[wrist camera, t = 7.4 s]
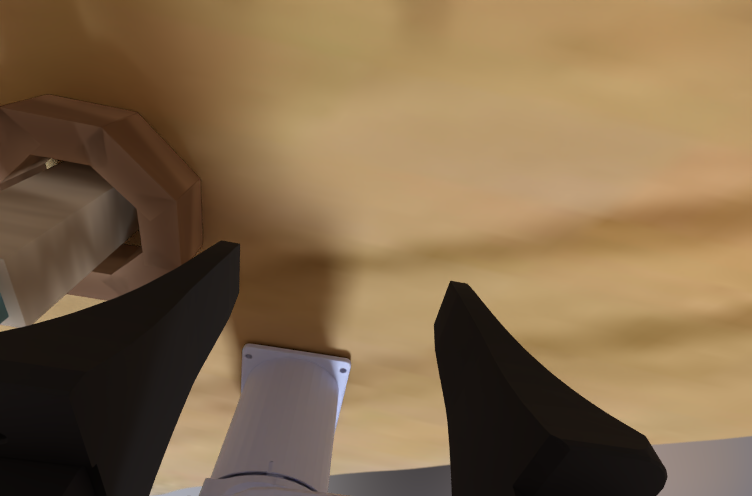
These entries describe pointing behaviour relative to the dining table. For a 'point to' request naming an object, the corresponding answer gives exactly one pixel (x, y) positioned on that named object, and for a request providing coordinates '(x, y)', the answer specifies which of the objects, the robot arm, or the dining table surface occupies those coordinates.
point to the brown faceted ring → (111, 181)
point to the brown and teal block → (56, 236)
